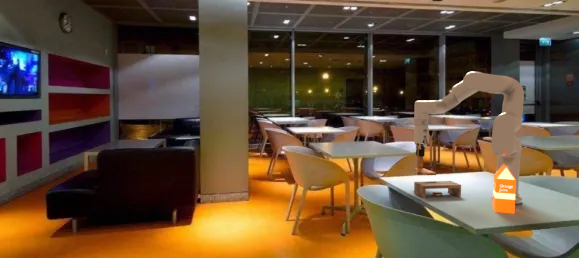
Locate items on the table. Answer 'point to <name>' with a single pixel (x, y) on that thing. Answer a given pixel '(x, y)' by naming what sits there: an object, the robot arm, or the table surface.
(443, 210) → the table surface
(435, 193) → the token
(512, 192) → the orange juice
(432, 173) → the brown l-shaped piece
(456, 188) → the wooden shelf stand
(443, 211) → the table surface
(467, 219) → the table surface
